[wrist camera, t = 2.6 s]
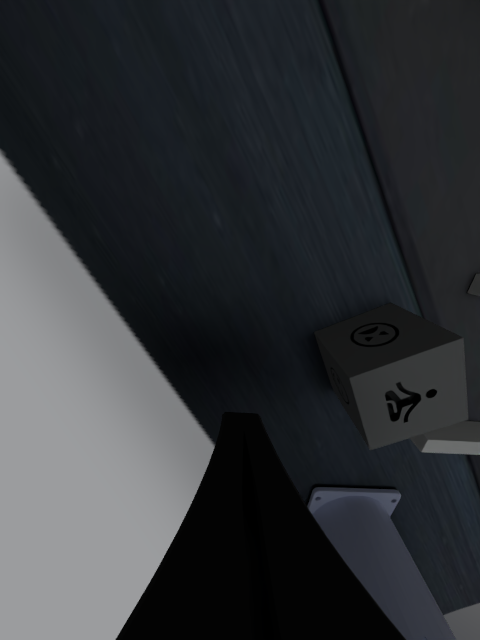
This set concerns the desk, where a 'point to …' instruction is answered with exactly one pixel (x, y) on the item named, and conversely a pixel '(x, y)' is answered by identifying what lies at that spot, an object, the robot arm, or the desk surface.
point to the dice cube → (395, 373)
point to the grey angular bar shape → (457, 436)
